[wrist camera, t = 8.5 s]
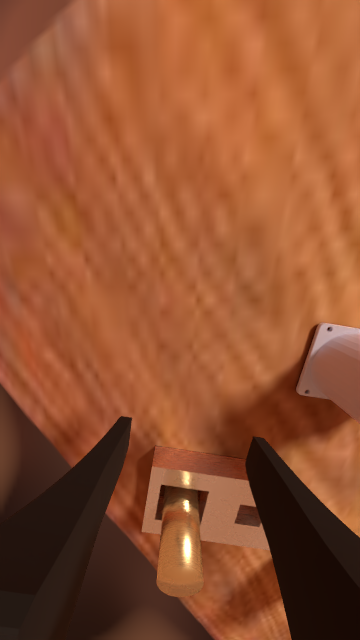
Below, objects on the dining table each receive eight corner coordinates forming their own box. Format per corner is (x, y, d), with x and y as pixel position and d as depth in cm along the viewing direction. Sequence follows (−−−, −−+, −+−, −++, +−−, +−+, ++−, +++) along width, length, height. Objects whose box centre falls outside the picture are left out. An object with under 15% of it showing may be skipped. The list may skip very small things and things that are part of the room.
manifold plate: (285, 465, 23) (297, 487, 20) (263, 523, 25) (272, 550, 22) (155, 445, 22) (152, 466, 20) (145, 506, 25) (141, 531, 22)
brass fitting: (194, 467, 23) (200, 565, 15) (198, 491, 24) (206, 595, 16) (162, 470, 23) (152, 569, 15) (168, 494, 24) (161, 598, 16)
